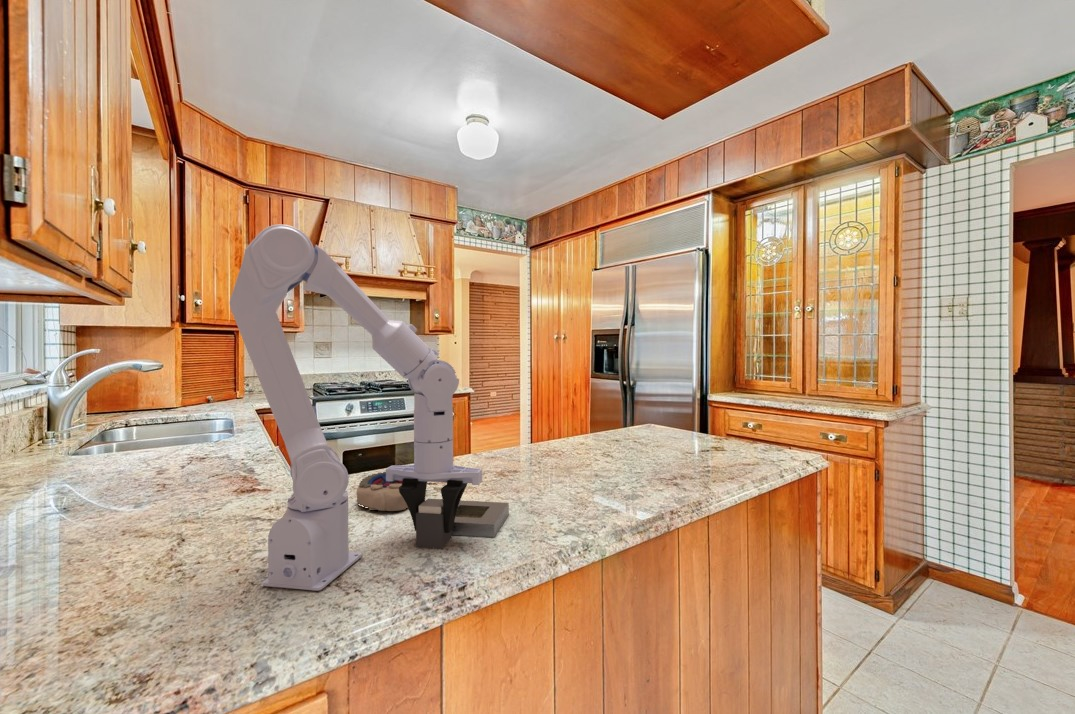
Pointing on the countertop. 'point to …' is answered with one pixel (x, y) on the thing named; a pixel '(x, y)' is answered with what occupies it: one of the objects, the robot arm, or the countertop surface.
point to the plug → (431, 525)
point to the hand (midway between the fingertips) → (434, 529)
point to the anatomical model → (380, 493)
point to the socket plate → (479, 518)
